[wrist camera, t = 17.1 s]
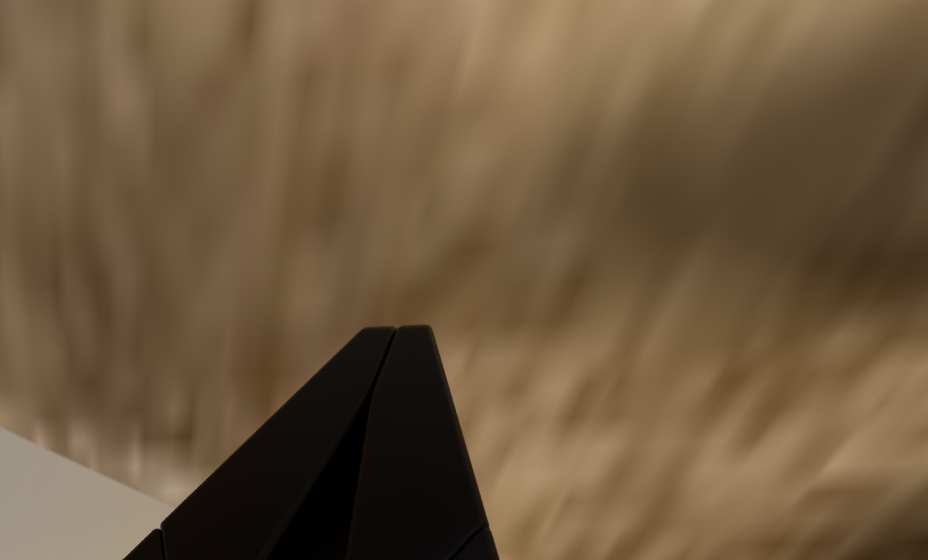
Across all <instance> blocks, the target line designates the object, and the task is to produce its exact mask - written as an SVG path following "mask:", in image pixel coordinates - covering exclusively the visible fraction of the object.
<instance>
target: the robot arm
mask: <svg viewBox="0 0 928 560" xmlns="http://www.w3.org/2000/svg"><path fill="white" fill-rule="evenodd" d="M160 528H161V530H160V529H154V530H153V531H152V532H151V533H150V534H149V535H148V536H147V537H146V538H145V539H144V540H142V541H141V542H140V543H139V544H138V546H136V547H135V548H134V549H133V550H132V551H131V552H130V553H129V554H128V555H127V556H126V557H125V558H124V559H123V560H500V559H499V556H498V553H497V549H496V546H495V542H494V539H493V535H492V532H491V531H490V528H489V523H488V519H487V516H486V513H485V509H484V506H483V502H482V499H481V495H480V492H479V488H478V485H477V481H476V478H475V475H474V471H473V468H472V464H471V461H470V457H469V454H468V450H467V447H466V444H465V440H464V437H463V433H462V430H461V426H460V423H459V419H458V416H457V413H456V409H455V406H454V402H453V399H452V395H451V392H450V388H449V385H448V381H447V378H446V375H445V371H444V368H443V364H442V361H441V357H440V354H439V350H438V347H437V344H436V340H435V337H434V333H433V330H432V328H431V326H429V325H404V326H401V327H399V328H398V329H397V328H395V327H394V326H379V327H366V328H364V329H362V330H361V331H359V332H358V333H357V334H356V335H355V336H354V337H353V338H352V339H351V340H350V341H349V342H348V343H347V344H346V345H345V346H344V347H343V348H342V349H341V350H340V351H339V352H338V353H337V354H336V355H335V356H333V357H332V358H331V359H330V360H329V361H328V362H327V363H326V364H325V365H324V366H323V367H322V368H321V369H320V370H319V371H318V372H317V373H316V374H315V375H314V376H313V377H312V378H311V379H310V380H309V381H308V382H307V383H306V384H304V385H303V386H302V387H301V388H300V389H299V390H298V391H297V392H296V393H295V394H294V395H293V396H292V397H291V398H290V399H289V400H288V401H287V402H286V403H285V404H284V405H283V406H282V407H281V408H280V409H279V410H278V411H276V412H275V413H274V414H273V415H272V416H271V417H270V418H269V419H268V420H267V421H266V422H265V423H264V424H263V425H262V426H261V427H260V428H259V429H258V430H257V431H256V432H255V433H254V434H253V435H252V436H251V437H250V438H249V439H247V440H246V441H245V442H244V443H243V444H242V445H241V446H240V447H239V448H238V449H237V450H236V451H235V452H234V453H233V454H232V455H231V456H230V457H229V458H228V459H227V460H226V461H225V462H224V463H223V464H222V465H221V466H220V467H218V468H217V469H216V470H215V471H214V472H213V473H212V474H211V475H210V476H209V477H208V478H207V479H206V480H205V481H204V482H203V483H202V484H201V485H200V486H199V487H198V488H197V489H196V490H195V491H194V492H193V493H192V494H190V495H189V496H188V497H187V498H186V499H185V500H184V501H183V502H182V503H181V504H180V505H179V506H178V507H177V508H176V509H175V510H174V511H173V512H172V513H171V514H170V515H169V516H168V517H167V518H166V519H165V520H164V521H163V522H162V523H161V527H160Z"/></svg>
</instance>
